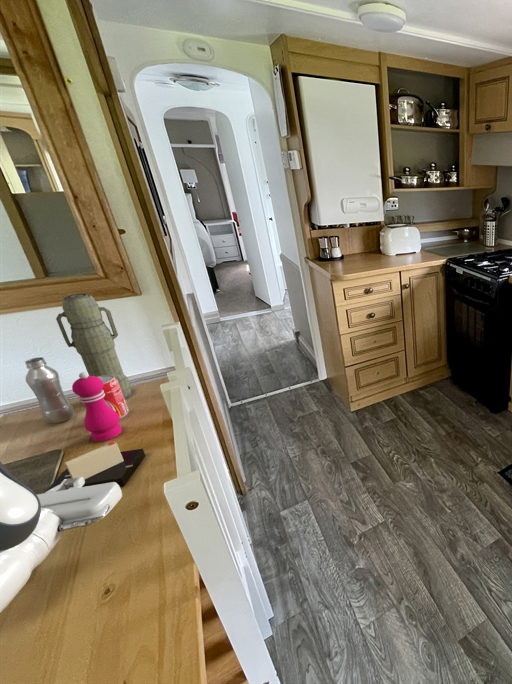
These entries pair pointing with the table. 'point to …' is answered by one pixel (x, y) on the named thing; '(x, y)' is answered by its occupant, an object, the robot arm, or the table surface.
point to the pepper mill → (96, 408)
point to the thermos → (93, 338)
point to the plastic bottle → (48, 391)
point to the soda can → (114, 395)
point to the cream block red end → (95, 461)
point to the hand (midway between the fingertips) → (75, 480)
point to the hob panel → (111, 471)
